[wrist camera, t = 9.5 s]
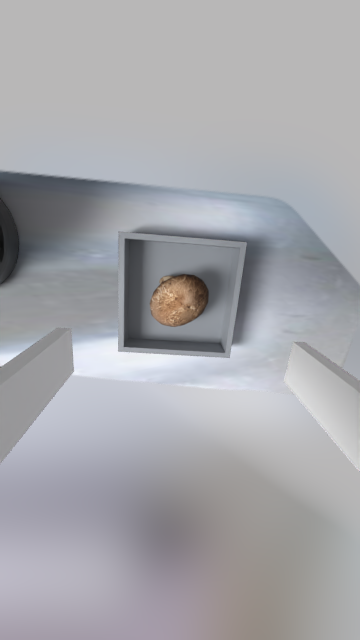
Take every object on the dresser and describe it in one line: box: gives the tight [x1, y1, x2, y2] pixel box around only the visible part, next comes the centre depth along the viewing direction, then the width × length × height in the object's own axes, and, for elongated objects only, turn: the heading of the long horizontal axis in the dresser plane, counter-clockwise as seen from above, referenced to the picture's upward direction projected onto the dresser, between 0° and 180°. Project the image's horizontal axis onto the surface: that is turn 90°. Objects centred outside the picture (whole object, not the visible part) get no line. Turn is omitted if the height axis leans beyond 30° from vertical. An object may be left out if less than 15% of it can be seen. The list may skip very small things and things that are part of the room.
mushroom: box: [150, 274, 209, 327], centre depth 31 cm, size 8×8×6 cm
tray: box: [118, 232, 247, 358], centre depth 32 cm, size 15×15×4 cm
